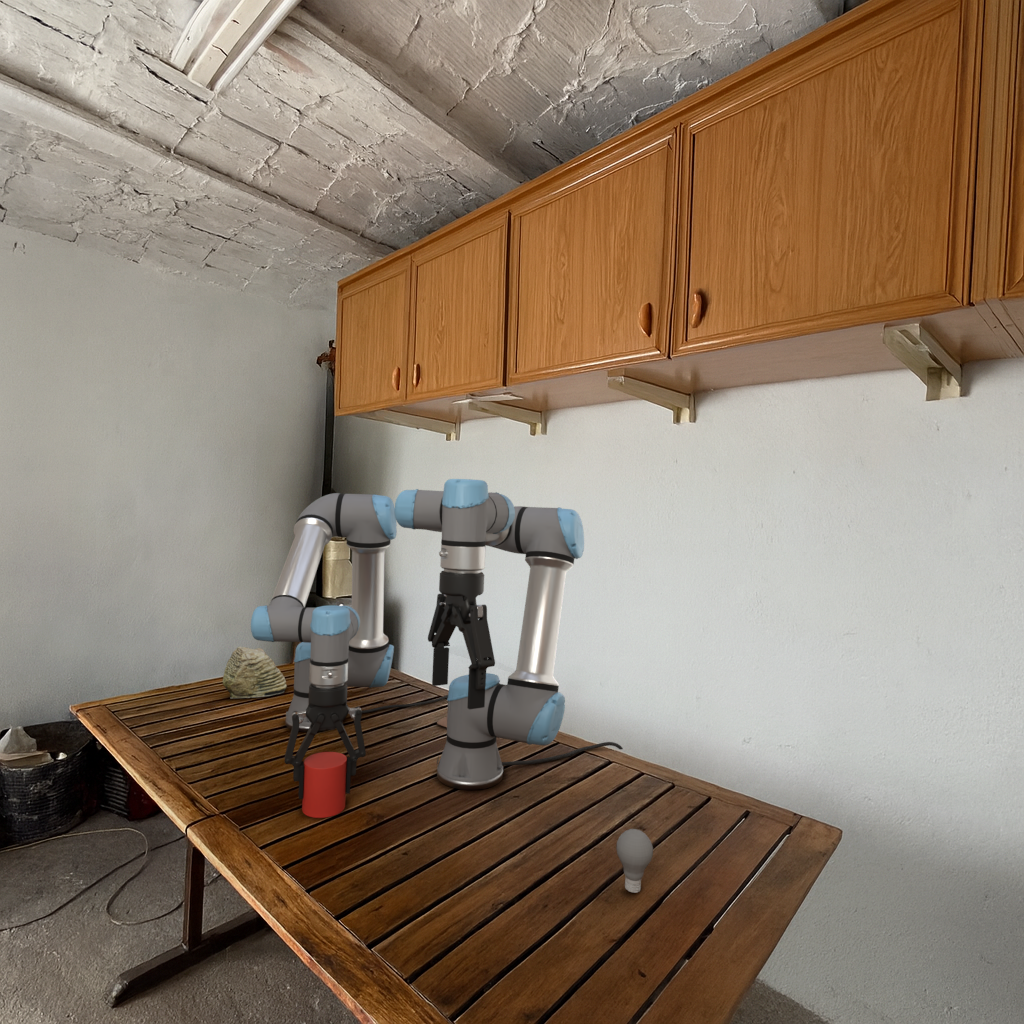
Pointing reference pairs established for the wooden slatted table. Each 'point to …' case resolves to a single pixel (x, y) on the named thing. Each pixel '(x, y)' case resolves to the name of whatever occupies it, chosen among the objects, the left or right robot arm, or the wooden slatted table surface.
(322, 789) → the can
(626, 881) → the light bulb
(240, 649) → the fossil
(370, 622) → the left robot arm
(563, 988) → the wooden slatted table surface
